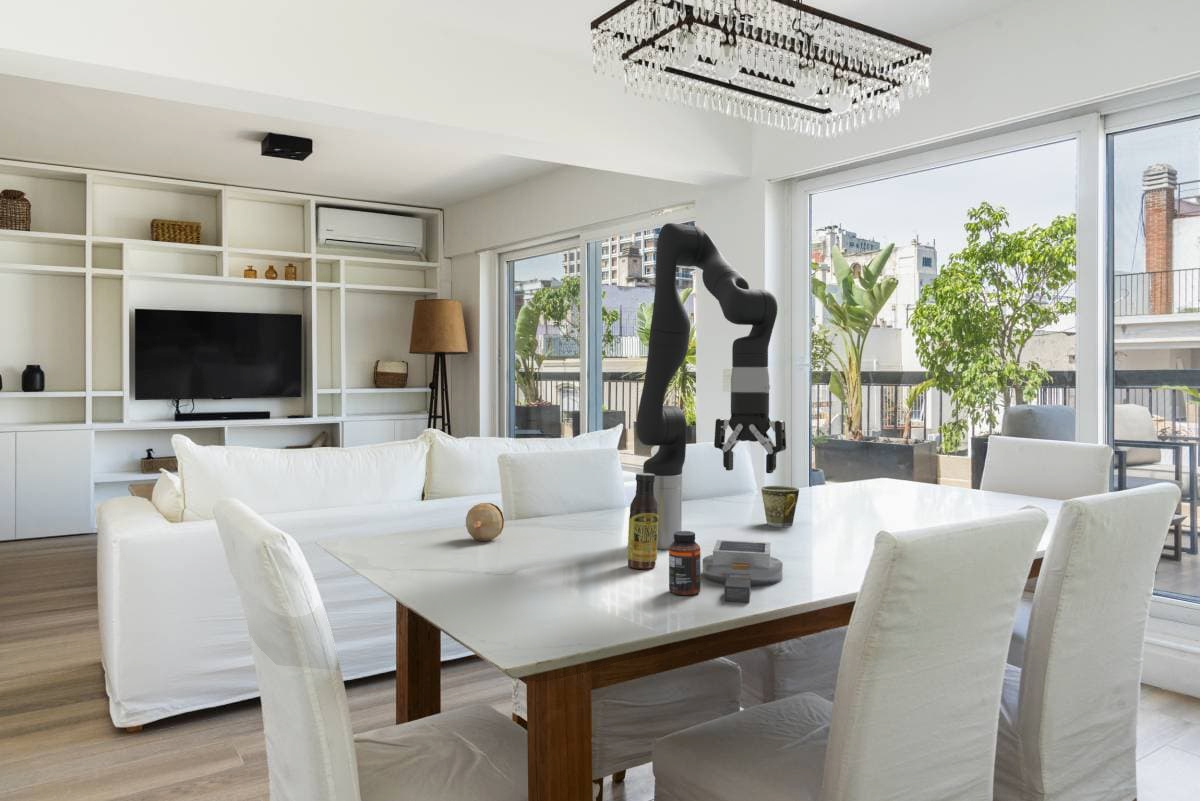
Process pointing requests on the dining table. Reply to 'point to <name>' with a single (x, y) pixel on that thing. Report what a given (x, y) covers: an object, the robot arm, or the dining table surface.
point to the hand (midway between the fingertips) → (749, 471)
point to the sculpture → (484, 521)
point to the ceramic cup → (780, 504)
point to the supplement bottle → (684, 564)
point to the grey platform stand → (741, 568)
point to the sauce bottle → (643, 524)
